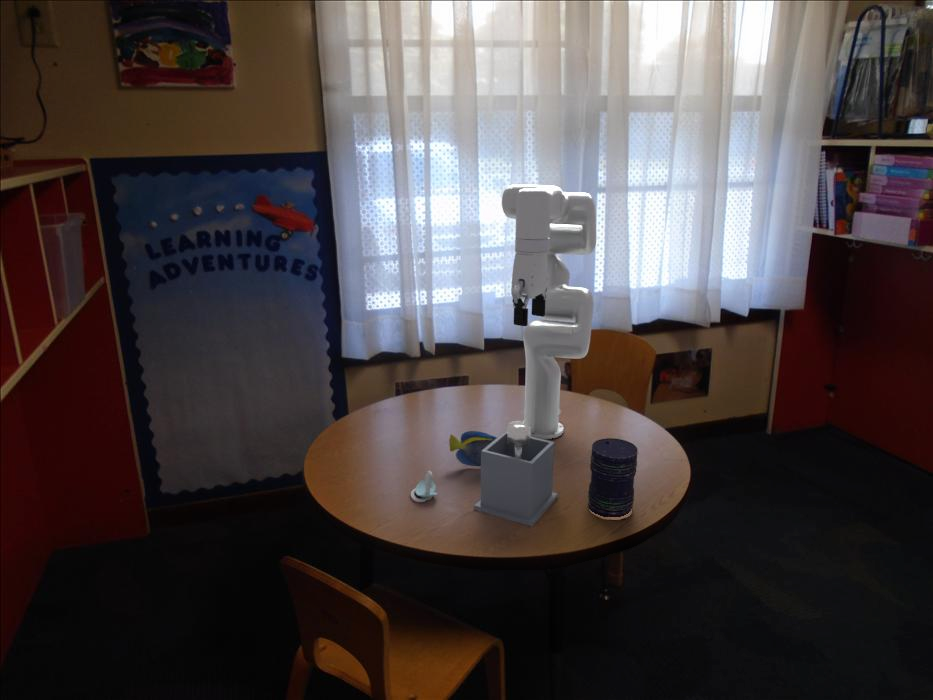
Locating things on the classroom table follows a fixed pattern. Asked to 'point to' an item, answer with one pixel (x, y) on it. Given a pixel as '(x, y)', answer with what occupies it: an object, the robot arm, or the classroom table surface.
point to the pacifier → (424, 489)
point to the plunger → (518, 436)
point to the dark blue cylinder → (612, 477)
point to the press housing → (517, 480)
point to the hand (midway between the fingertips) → (529, 320)
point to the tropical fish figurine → (470, 446)
